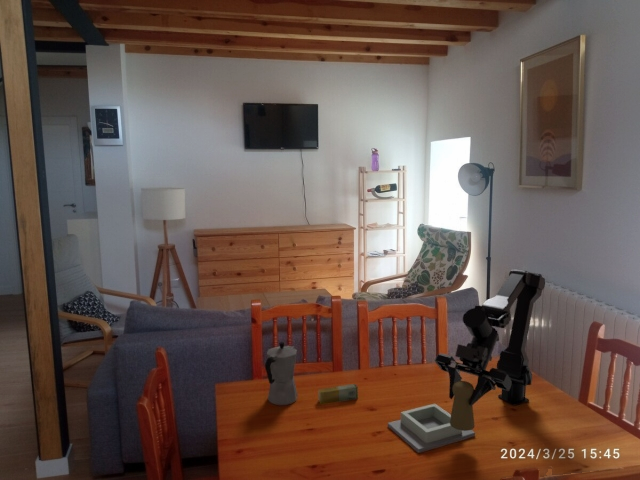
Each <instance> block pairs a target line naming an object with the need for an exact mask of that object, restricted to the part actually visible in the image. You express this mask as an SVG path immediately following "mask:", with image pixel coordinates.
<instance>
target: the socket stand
mask: <svg viewBox="0 0 640 480" xmlns="http://www.w3.org/2000/svg"><path fill="white" fill-rule="evenodd" d="M450 418H451V413H449V412H448V411H447V410H445V409H443V408H442V407H441V406H439V405H437V404H436V403H432V404H428V405H423V406H419V407H416V408H412V409H408V410H404V411H401V412H400V419H397V420H395V421H389V422H387V428H389V429H390V430H392V432H394V433H395V434H396V435H397V436H398V437H399V438H400V439H402V440H403V441H404V443H406V444H408V446H409V447H411V448H412V449H413V450H414V451H416V452H417V453H418V454H420V453H423V452H427V451H431V450H433V449H438V448H440V447H443V446H447V445H450V444H451V445H452V444H453V443H454V444H455V443H457V442H460V441H463V440H467V439H470V438H473V437H476V432H475V431H474V430H473V429H472V430H468V431H462V430H457V429H455V428H453V427H452V426H451V425H450Z"/></svg>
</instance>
